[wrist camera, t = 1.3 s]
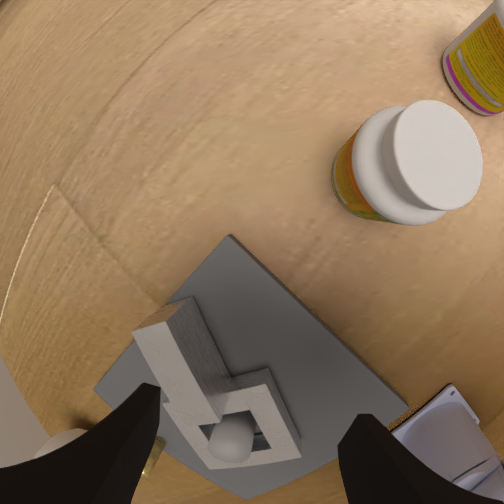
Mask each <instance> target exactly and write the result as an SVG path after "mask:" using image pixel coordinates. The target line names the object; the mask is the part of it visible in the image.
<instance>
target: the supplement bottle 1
mask: <svg viewBox="0 0 504 504" xmlns="http://www.w3.org/2000/svg"><path fill="white" fill-rule="evenodd" d="M482 172H483V159H482V153H481V148H480V145H479V142H478V139H477V137H476V135H475V133H474V131H473V129H472V128H471V126H470V125H469V123H468V122H467V121H466V120H465V118H464V117H463V116H462V115H461V114H460V113H458V112H457V111H456V110H455V109H453V108H452V107H450V106H449V105H447V104H445V103H442V102H439V101H435V100H421V101H417V102H414V103H412V104H410V105H409V106H392V107H388V108H385V109H382V110H380V111H378V112H376V113H375V114H374V115H372V116H371V117H370V118H369V119H368V120H366V121H365V122H364V123H363V124H362V125H361V126H360V128H359V129H358V130H357V131H356V133H355V134H354V135H353V136H352V137H351V138H350V139H349V140H348V142H347V143H346V144H345V145H344V146H343V147H342V148H341V149H340V151H339V152H338V153H337V155H336V157H335V159H334V162H333V165H332V173H331V177H332V185H333V188H334V191H335V194H336V196H337V198H338V199H339V201H340V202H341V203H342V205H343V206H344V207H345V208H346V209H347V210H349V211H350V212H351V213H353V214H355V215H357V216H359V217H362V218H365V219H369V220H377V221H384V222H391V223H397V224H402V225H414V226H417V225H425V224H428V223H431V222H434V221H436V220H437V219H439V218H440V217H442V216H443V215H444V214H445V213H446V212H447V211H450V210H455V209H458V208H461V207H463V206H464V205H466V204H467V203H468V202H469V201H470V200H471V199H472V198H473V197H474V195H475V194H476V192H477V190H478V188H479V186H480V183H481V178H482Z"/></svg>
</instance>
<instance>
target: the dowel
mask: <svg viewBox="0 0 504 504" xmlns="http://www.w3.org/2000/svg"><path fill="white" fill-rule="evenodd" d="M165 446H166V441H165V439H163V438H162V437H160V436H156V438H155V442H154V445H153V448H152V450H151V453H150V455H149V458H148V460H147V463H146V465H145V467H144V470H143V472H142V475H141V477H140V478H143V479H147V478H148V477H149V475H150V473H151V471H152V470H153V468H154V466H155V464H156V462H157V460H158V459H159V457H160V455H161V453H162V451H163V449H164V447H165Z"/></svg>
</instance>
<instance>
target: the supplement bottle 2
mask: <svg viewBox="0 0 504 504" xmlns="http://www.w3.org/2000/svg"><path fill="white" fill-rule="evenodd" d="M443 69H444V73H445V76H446V78H447V80H448V82H449V84H450V86H451V88H452V89H453V91H454V92H455V94H456V95H457V96H458V97H459V99H460V100H461V101H462V102H463V103H464V104H465V105H467V106H468V107H469V108H470V109H472V110H473V111H475V112H477V113H479V114H482V115H486V116H491V115H495V114H498V113H500V112H503V111H504V0H495V1H494V2H493V3H492V4H491V5H490V6H489V7H488V8H487V9H486V10H485V11H484V12H483V13H482V14H481V15H480V16H479V17H478V18H477V19H476V20H475V21H474V22H473V23H472V24H471V25H470V26H469V27H468V28H466V29H465V30H464V31H463V32H462V33H461V34H460V35H459V36H458V37H457V38H456V39H455V40H454V41H453V42H452V43H451V44H450V45H449V47H448V48H447V49H446V50H445V52H444V54H443Z"/></svg>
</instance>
